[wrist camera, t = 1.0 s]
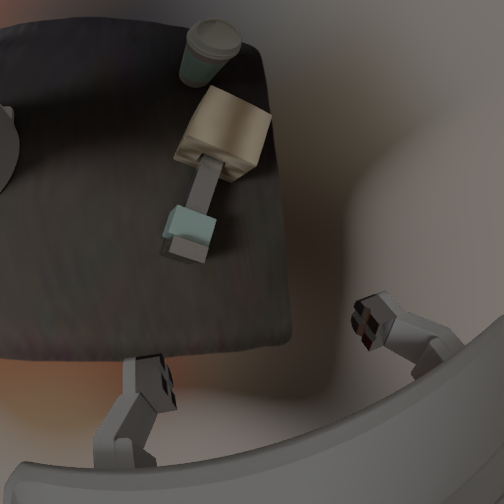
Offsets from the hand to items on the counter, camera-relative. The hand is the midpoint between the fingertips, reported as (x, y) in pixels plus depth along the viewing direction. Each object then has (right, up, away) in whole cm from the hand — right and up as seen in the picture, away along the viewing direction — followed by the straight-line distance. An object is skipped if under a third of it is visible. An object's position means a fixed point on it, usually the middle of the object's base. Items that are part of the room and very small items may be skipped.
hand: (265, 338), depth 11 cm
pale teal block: (-10, +6, +28) cm, 31 cm away
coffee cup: (-11, +34, +31) cm, 48 cm away
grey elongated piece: (-9, +11, +30) cm, 33 cm away
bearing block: (-7, +20, +32) cm, 38 cm away
